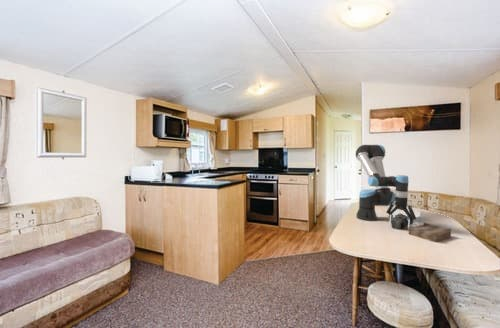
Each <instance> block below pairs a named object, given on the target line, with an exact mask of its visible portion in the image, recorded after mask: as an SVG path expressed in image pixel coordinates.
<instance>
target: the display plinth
mask: <svg viewBox="0 0 500 328" xmlns="http://www.w3.org/2000/svg"><path fill="white" fill-rule="evenodd" d="M408 235H411V236H413V237H417V238H421V239H423V240H424V239H425V240H426V241H427V240H428V241H430V242H434V243H437V242H440V241H443V240H447V239H450V238H451V237H452V228H448V227H444V226H440V225H437V224H432V223H429V222H423V224H420V225H417V226H409V229H408Z"/></svg>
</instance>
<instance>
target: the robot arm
mask: <svg viewBox="0 0 500 328" xmlns="http://www.w3.org/2000/svg"><path fill="white" fill-rule="evenodd" d="M355 157H356V160H357V161H359V162H360V164H361V166H362V167H363V169H364V171H365V173H366V175H367V176H368V179H367V184H368V185H369V187H374V188H375V189H371V188H370V189H369V188H368V189H367V188H366V189H362V190H360V191H359V195H358V197H359V202H358V203H359V205H358V211H357V213H356V218H357V219H359V220H362V221H367V222H368V221H371V222H372V221H377V220H378V216H377V212H376V206H377V207H381V206H382V207H383V206H384V207H388V208H387V210H386V214H388V219H389V224H391V225H392V221H391V220H392V219H393V218H394V213H395V212H396V211H397V210H400V211H403V212H404V214H405V215H406V216H408V219H407V220H408V226H407V229H408V230H409V226H412V225H413V224H414V220H417V216H416V214H415V212H414V210H413V205H411V204H410V205H409V204H408V197H409V176H408V175H404V174H403V175H401V174H398V175H395V176H394V175H388V176H386V173H385V168H384V163H383V160H384V158H385V157H386V149H385V147H384V146H383V145H381V144H362V145H361V144H360V146H358V147H357V149H356V150H355ZM391 187H392V188H393V187H394V188H395V192H394V191H392V190H391Z"/></svg>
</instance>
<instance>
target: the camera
mask: <svg viewBox="0 0 500 328" xmlns="http://www.w3.org/2000/svg"><path fill="white" fill-rule="evenodd" d="M408 220H409V217H408V216H407V214H403V213H401V212H399V213H397V214H395V215H394V217H393V219H392V220H391V221H392V223H391V228H392V229H395V230H398V231H401V230H402V228H403V229H404V228H408Z"/></svg>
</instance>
